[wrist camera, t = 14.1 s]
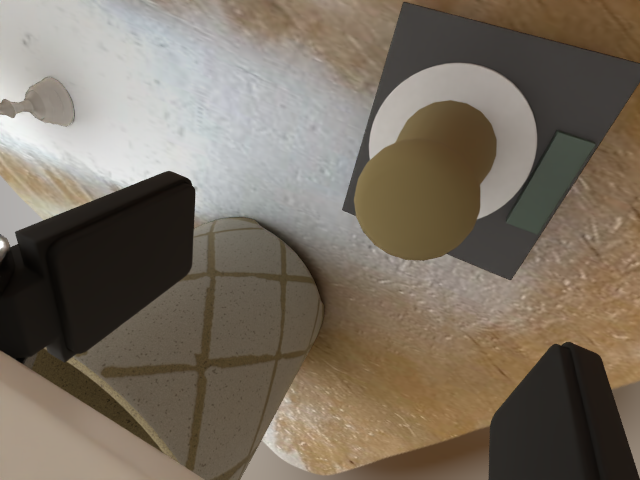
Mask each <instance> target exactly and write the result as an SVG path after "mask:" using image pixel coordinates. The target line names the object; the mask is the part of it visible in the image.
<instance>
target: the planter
mask: <svg viewBox="0 0 640 480" xmlns="http://www.w3.org/2000/svg"><path fill="white" fill-rule="evenodd" d="M323 317H324V304H323V303H322V302H321V299H320V296H319V293H318V290H317V287H316V284H315V282H314V280H313V278H312V276H311V274H310V272H309V270H308V269H307V267H306V266H305V264H304V263H303V262H302V260H301V259H300V258H299V257H298V255H297V254H296V253H295V252H294V251H293V250H292V249H291V248H290V247H289V246H288V245H287V244H286V243H285V242H283V241H282V240H281V239H280V238H278V237H277V236H275V235H274V234H272V233H271V232H269V231H268V230H266V229H264V228H263V227H261V226H260V225H259V224H258V222H257V221H256V220H254V219H250V218H243V217H232V218H224V219H219V220H215V221H212V222H208V223H206V224H203V225H201V226H199V227H197V228H195V229H194V236H193V260H192V268H191V270H190V272H189V273H188V274H187V275H186V276H185V277H184V278H183V279H181V280H180V281H179V282H178V283H176V284H175V285H174V286H172V287H171V288H170V289H168V290H167V291H166V292H164V293H163V294H162V295H160V296H159V297H158V298H156V299H155V300H154V301H152V302H151V303H150V304H149V305H147V306H146V307H145V308H143V309H142V310H141V311H139V312H138V313H137V314H135V315H134V316H133V317H131V318H130V319H129V320H127V321H126V322H125V323H123V324H122V325H121V326H120V327H118V328H117V329H116V330H114V331H113V332H112V333H110V334H109V335H108V336H106V337H105V338H104V339H102V340H101V341H100V342H98V343H97V344H96V345H94V346H93V347H92V348H90V349H89V350H88V351H86V352H84V353H82V354H76V355H75V356H73V357H72V358H71V359H69V360H68V361H67V362H65V363H64V362H63V361H61V360H59V359H58V358H56V357H54V356H53V355H51V354H50V353H48V351H47V348H46V347H45V348H43V349H42V350H40V351H39V352H38V353H37V356H36V359H35V362H34V364H33V367H32V370H33V371H34V372H36V373H37V374H39V375H41V376H42V377H44V378H45V379H47V380H49V381H50V382H52V383H53V384H55V385H56V386H58V387H60V388H61V389H63V390H64V391H66V392H68V393H69V394H71V395H72V396H74V397H75V398H77V399H79V400H80V401H82V402H83V403H85V404H87V405H88V406H90V407H91V408H93V409H95V410H96V411H98V412H99V413H101V414H102V415H104V416H106V417H107V418H109V419H110V420H112V421H114V422H115V423H117V424H118V425H120V426H121V427H123V428H125V429H126V430H128V431H129V432H131V433H132V434H134V435H136V436H137V437H139V438H140V439H142V440H143V441H145V442H146V443H148V444H150V445H151V446H153V447H154V448H156V449H157V450H159V451H161V452H162V453H164V454H165V455H167V456H168V457H170V458H172V459H173V460H175V461H176V462H178V463H179V464H181V465H183V466H184V467H186V468H187V469H189V470H190V471H192V472H194V473H195V474H197V475H198V476H200V477H201V478H203V479H204V480H240V479H241V477H242V475H243V473H244V472H245V470H246V468H247V466H248V464H249V462H250V461H251V459H252V457H253V455H254V453H255V451H256V449H257V447H258V446H259V444H260V442H261V440H262V438H263V436H264V434H265V432H266V431H267V429H268V427H269V425H270V423H271V421H272V419H273V417H274V415H275V414H276V412H277V410H278V408H279V406H280V404H281V402H282V400H283V398H284V397H285V395H286V393H287V391H288V389H289V387H290V385H291V384H292V382H293V380H294V378H295V376H296V374H297V372H298V371H299V369H300V367H301V365H302V363H303V361H304V360H305V358H306V356H307V354H308V352H309V351H310V349H311V347H312V345H313V343H314V341H315V339H316V337H317V335H318V332H319V330H320V327H321V325H322V321H323Z"/></svg>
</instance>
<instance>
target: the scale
mask: <svg viewBox="0 0 640 480" xmlns="http://www.w3.org/2000/svg"><path fill="white" fill-rule="evenodd" d="M639 83H640V63H637V62H633V61H629V60H626V59H622V58H618V57H614V56H610V55H606V54H602V53H599V52H595V51H591V50H587V49H583V48H579V47H576V46H572V45H568V44H564V43H560V42H556V41H552V40H549V39H545V38H541V37H537V36H533V35H529V34H526V33H522V32H518V31H514V30H510V29H506V28H503V27H499V26H495V25H491V24H487V23H483V22H479V21H476V20H472V19H468V18H464V17H460V16H456V15H453V14H449V13H445V12H441V11H437V10H433V9H429V8H426V7H422V6H418V5H414V4H410V3H406V2H403V4H402V8H401V11H400V15H399V18H398V21H397V25H396V28H395V32H394V35H393V38H392V42H391V45H390V49H389V52H388V55H387V59H386V62H385V66H384V69H383V72H382V76H381V79H380V83H379V86H378V90H377V93H376V96H375V100H374V103H373V107H372V110H371V113H370V117H369V120H368V124H367V127H366V130H365V134H364V137H363V141H362V144H361V147H360V151H359V154H358V158H357V161H356V164H355V168H354V171H353V175H352V178H351V181H350V185H349V188H348V192H347V195H346V198H345V202H344V205H343V209H342V210H343V211H345V212H348V213H350V214H352V215H355V216H356V211H355V204H354V197H355V191H356V186H357V181H358V178H359V176H360V174H361V173H362V171H363V169H364V167H365V166H366V164H367V162H368V161H370V160H371V159H372V158H373V157H374V156H375V155H376V154H377V153H379V152H380V151H381V150H382V149H383V148H385V147H387V146H389V145H391V144H394V143H395V142H396V140H397V138H398V136H399V134H400V132H401V130H402V129H403V127H404V125H405V123H406V122H407V120H408V119H409V118H410V117H411V116H412V115H414V114H415V113H416V112H417V111H418V110H419V109H421V108H423V107H425V106H427V105H430V104H432V103H434V102H441V101H448V100H452V101H457V102H463V103H467V104H469V105H471V106H472V107H474V108H476V109H478V110H479V111H481V112H482V113H483V114H484V116H485V117H486V118H487V119H488V120H489V122H490V123H491V124H492V127H493V130H494V133H495V136H496V139H497V148H496V157H495V160H494V163H493V166H492V168H491V171H490V172H489V173H488V175H487V176H486V177H485V179H484V180H483V182H482V183H481V184H480V212H479V215H478V217H477V220H476V223H475V225H474V228H473V230H472V231H471V232H470V233H469V235H468V236H467V237H466V238H465V239H464V240H463V242H462V243H461V244H460V245H459V246H458V247H456V248H455V249H453V250H451V251H450V252H448V253H446V254H448V255H451V256H453V257H456V258H458V259H460V260H463V261H465V262H468V263H470V264H472V265H475V266H477V267H480V268H482V269H484V270H487V271H489V272H492V273H494V274H496V275H499V276H501V277H504V278H506V279H508V280H511V279H512V278H513V276H514V275H515V273H516V272H517V270H518V269H519V267H520V266H521V264H522V263H523V261H524V259H525V258H526V256H527V255H528V253H529V252H530V250H531V249H532V247H533V246H534V244H535V243H536V241H537V239H538V238H539V236H540V235H541V233H542V232H543V230H544V229H545V227H546V226H547V224H548V223H549V221H550V219H551V218H552V216H553V215H554V213H555V212H556V210H557V209H558V207H559V206H560V204H561V203H562V201H563V200H564V198H565V196H566V195H567V193H568V192H569V190H570V189H571V187H572V186H573V184H574V183H575V181H576V180H577V178H578V176H579V175H580V173H581V172H582V170H583V169H584V167H585V166H586V164H587V163H588V161H589V160H590V158H591V156H592V155H593V153H594V152H595V150H596V149H597V147H598V146H599V144H600V143H601V141H602V140H603V138H604V137H605V135H606V133H607V132H608V130H609V129H610V127H611V126H612V124H613V123H614V121H615V120H616V118H617V117H618V115H619V113H620V112H621V110H622V109H623V107H624V106H625V104H626V103H627V101H628V100H629V98H630V97H631V95H632V93H633V92H634V90H635V89H636V87H637V86H638V84H639Z"/></svg>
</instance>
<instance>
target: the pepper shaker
mask: <svg viewBox="0 0 640 480" xmlns="http://www.w3.org/2000/svg"><path fill="white" fill-rule="evenodd" d="M496 148H497V139H496V136H495V133H494V130H493V127H492V124H491V123H490V122H489V120H488V119H487V118H486V117H485V116H484V114H483V113H482V112H481V111H479V110H478V109H476V108H474V107H472V106H471V105H469V104H467V103H463V102H457V101H452V100H448V101H441V102H434V103H432V104H430V105H427V106H425V107H423V108H421V109H419V110H418V111H417V112H416V113H415V114H414V115H412V116H411V117H410V118H409V119H408V120H407V122H406V123H405V125H404V127H403V129H402V130H401V132H400V134H399V136H398V138H397V140H396V142H395V143H394V144H391V145H389V146H387V147H385V148H383V149H382V150H381V151H380V152H379V153H377V154H376V155H375V156H374V157H373V158H372V159H371V160H370V161H368V162H367V164H366V166H365V167H364V169H363V171H362V173H361V174H360V176H359V178H358V181H357V186H356V191H355V197H354V204H355V211H356V217H357V219H358V221H359V224H360V226H361V228H362V230H363V232H364V233H365V234H366V235H367V237H368V238H369V239H370V240H371V241H372V242H373V243H374V245H376V246H377V247H379V248H380V249H382V250H383V251H385V252H386V253H388V254H390V255H393V256H396V257H399V258H402V259H405V260H423V261H424V260H428V259H433V258H437V257H441V256H443V255H445V254H446V253H448V252H450V251H451V250H453V249H455V248H456V247H458V246H459V245H460V244H461V243H462V242H463V240H464V239H465V238H466V237H467V236H468V235H469V233H470V232H471V231H472V230H473V228H474V225H475V223H476V220H477V217H478V215H479V212H480V184H481V183H482V182H483V180H484V179H485V177H486V176H487V175H488V173H489V172H490V171H491V168H492V166H493V163H494V160H495V157H496Z"/></svg>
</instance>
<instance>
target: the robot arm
mask: <svg viewBox="0 0 640 480" xmlns="http://www.w3.org/2000/svg"><path fill="white" fill-rule="evenodd" d="M194 212H195V189H194V187H193V186H192V183H191V181H190V180H189V179H188V178H186V177H183V176H181V175H179V174H176V173H174V172H171V171H167V172H164V173H161V174H159V175H156V176H154V177H151V178H149V179H146V180H144V181H141V182H139V183H136V184H134V185H131V186H129V187H126V188H124V189H121V190H119V191H116V192H114V193H111V194H109V195H106V196H104V197H101V198H99V199H96V200H94V201H91V202H89V203H86V204H84V205H81V206H79V207H76V208H74V209H71V210H69V211H66V212H64V213H61V214H59V215H56V216H54V217H51V218H49V219H46V220H44V221H41V222H39V223H36V224H34V225H31V226H29V227H26V228H24V229H21V230H19V231H16V232H15V234H16V238H17V241H18V244H17V245H15V246H12V247H10V245H9V242H8V240H7V238H5V237H4V236H2V235H1V234H0V480H204V479H203V478H201V477H200V476H198V475H197V474H195V473H194V472H192V471H190V470H189V469H187V468H186V467H184V466H183V465H181V464H179V463H178V462H176V461H175V460H173V459H172V458H170V457H168V456H167V455H165V454H164V453H162V452H161V451H159V450H157V449H156V448H154V447H153V446H151V445H150V444H148V443H146V442H145V441H143V440H142V439H140V438H139V437H137V436H136V435H134V434H132V433H131V432H129V431H128V430H126V429H125V428H123V427H121V426H120V425H118V424H117V423H115V422H114V421H112V420H110V419H109V418H107V417H106V416H104V415H102V414H101V413H99V412H98V411H96V410H95V409H93V408H91V407H90V406H88V405H87V404H85V403H83V402H82V401H80V400H79V399H77V398H75V397H74V396H72V395H71V394H69V393H68V392H66V391H64V390H63V389H61V388H60V387H58V386H56V385H55V384H53V383H52V382H50V381H49V380H47V379H45V378H44V377H42V376H41V375H39V374H37V373H36V372H34V371H33V370H32V367H33V364H34V362H35V359H36V356H37V353H38V352H39V351H40V350H42V349H43V348H45V347H46V348H47V351H48V353H50V354H51V355H53V356H54V357H56V358H58V359H59V360H61V361H63V362H64V363H65V362H67V361H68V360H69V359H71V358H72V357H73V356H75V355H76V354H82V353H84V352H86V351H88V350H89V349H90V348H92V347H93V346H94V345H96V344H97V343H98V342H100V341H101V340H102V339H104V338H105V337H106V336H108V335H109V334H110V333H112V332H113V331H114V330H116V329H117V328H118V327H120V326H121V325H122V324H123V323H125V322H126V321H127V320H129V319H130V318H131V317H133V316H134V315H135V314H137V313H138V312H139V311H141V310H142V309H143V308H145V307H146V306H147V305H149V304H150V303H151V302H152V301H154V300H155V299H156V298H158V297H159V296H160V295H162V294H163V293H164V292H166V291H167V290H168V289H170V288H171V287H172V286H174V285H175V284H176V283H178V282H179V281H180V280H181V279H183V278H184V277H185V276H186V275H187V274H188V273H189V272H190V270H191V268H192V260H193V236H194ZM489 480H640V478H639V475H638V472H637V469H636V466H635V463H634V459H633V456H632V453H631V450H630V447H629V444H628V441H627V437H626V434H625V431H624V428H623V425H622V422H621V419H620V415H619V412H618V409H617V406H616V403H615V400H614V397H613V393H612V390H611V387H610V384H609V381H608V378H607V375H606V372H605V368H604V365H603V362H602V359H601V357H600V356H599V355H598V354H596V353H594V352H592V351H589V350H587V349H585V348H582V347H580V346H578V345H575V344H573V343H571V342H566V343H564V344H563V345H562V346H561V345H558V344H554V345H552V346H551V347H550V348H549V349H548V351H547V352H546V353H545V354H544V355H543V356H542V358H541V359H540V360H539V361H538V362H537V364H536V365H535V366H534V367H533V368H532V370H531V371H530V372H529V373H528V374H527V376H526V377H525V378H524V379H523V380H522V382H521V383H520V384H519V385H518V386H517V388H516V389H515V390H514V391H513V392H512V393H511V395H510V396H509V397H508V398H507V399H506V401H505V402H504V403H503V404H502V405H501V407H500V408H499V409H498V410H497V411H496V413H495V414H494V416H493V418H492V421H491V425H490V448H489Z"/></svg>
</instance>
